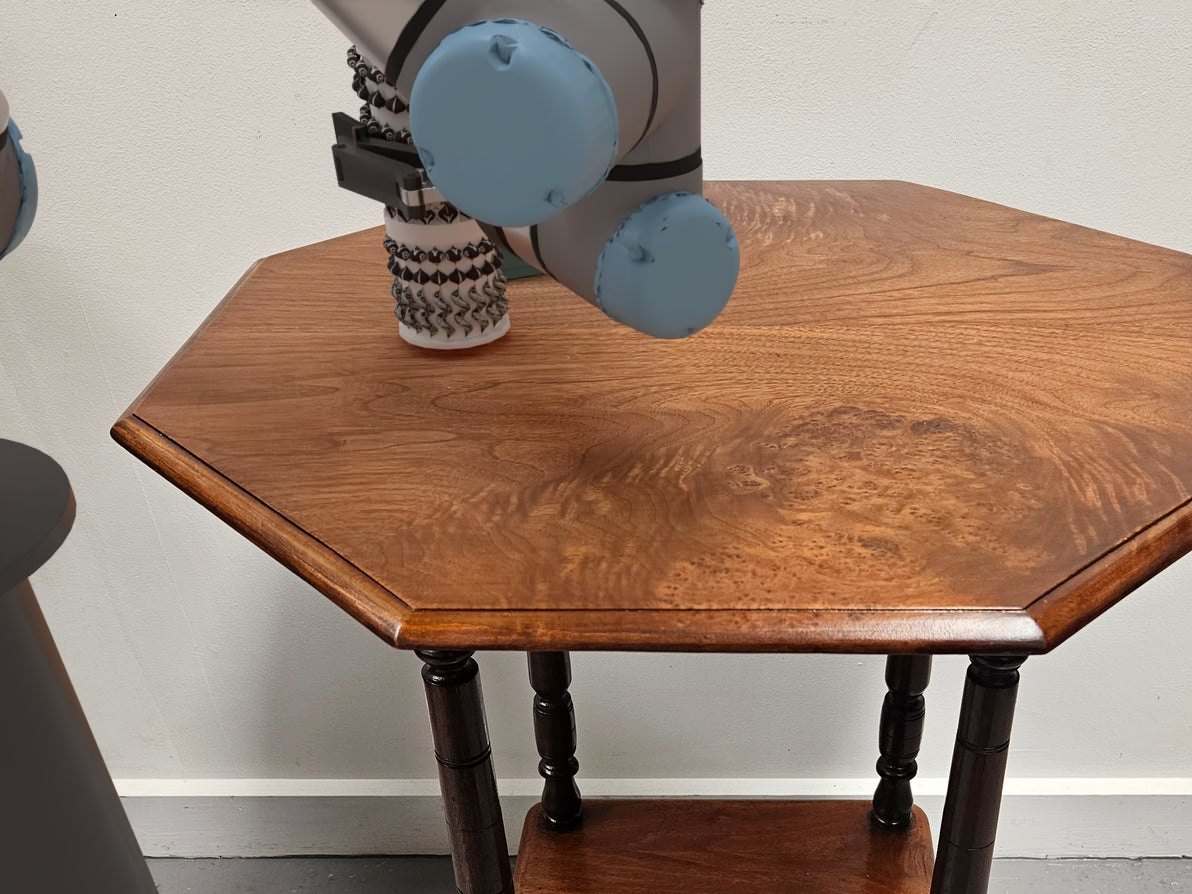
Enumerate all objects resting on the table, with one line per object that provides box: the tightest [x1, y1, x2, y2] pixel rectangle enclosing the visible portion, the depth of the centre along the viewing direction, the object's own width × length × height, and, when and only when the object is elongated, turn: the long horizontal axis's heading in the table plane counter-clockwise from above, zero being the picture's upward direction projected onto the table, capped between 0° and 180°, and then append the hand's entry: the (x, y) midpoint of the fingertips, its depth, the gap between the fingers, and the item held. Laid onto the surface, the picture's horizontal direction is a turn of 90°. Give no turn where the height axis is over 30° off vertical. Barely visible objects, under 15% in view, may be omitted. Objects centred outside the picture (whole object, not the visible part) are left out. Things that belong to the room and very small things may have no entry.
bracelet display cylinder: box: [346, 44, 511, 350], centre depth 87 cm, size 9×9×25 cm
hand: (402, 123), depth 90 cm, fingers closed on bracelet display cylinder, 9 cm apart
